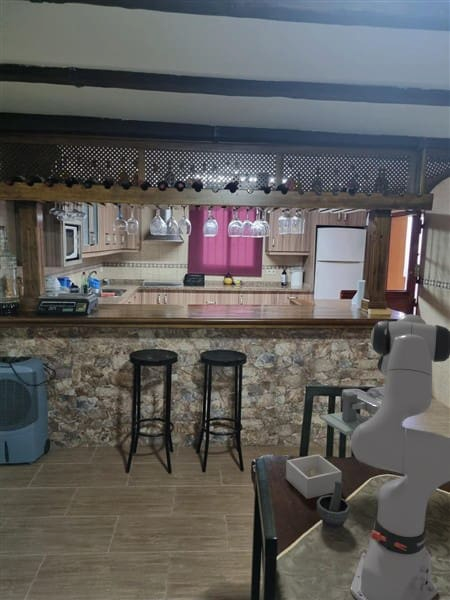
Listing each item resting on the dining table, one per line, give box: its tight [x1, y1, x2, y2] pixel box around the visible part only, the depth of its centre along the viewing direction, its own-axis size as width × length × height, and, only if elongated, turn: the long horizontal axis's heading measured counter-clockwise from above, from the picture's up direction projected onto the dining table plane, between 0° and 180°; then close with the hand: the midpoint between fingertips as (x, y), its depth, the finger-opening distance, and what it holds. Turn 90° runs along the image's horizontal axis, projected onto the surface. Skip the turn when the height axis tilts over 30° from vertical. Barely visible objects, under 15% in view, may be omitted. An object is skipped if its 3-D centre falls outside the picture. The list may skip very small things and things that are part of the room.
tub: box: [285, 453, 343, 500], centre depth 151 cm, size 14×14×7 cm
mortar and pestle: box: [316, 481, 351, 533], centre depth 128 cm, size 11×9×12 cm
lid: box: [319, 392, 370, 436], centre depth 153 cm, size 15×15×12 cm
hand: (347, 404), depth 152 cm, fingers closed on lid, 3 cm apart
